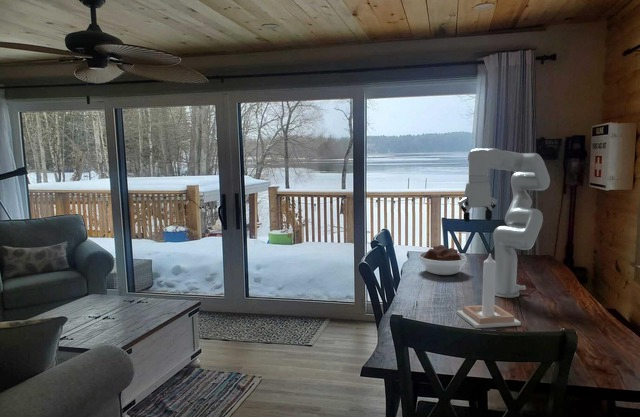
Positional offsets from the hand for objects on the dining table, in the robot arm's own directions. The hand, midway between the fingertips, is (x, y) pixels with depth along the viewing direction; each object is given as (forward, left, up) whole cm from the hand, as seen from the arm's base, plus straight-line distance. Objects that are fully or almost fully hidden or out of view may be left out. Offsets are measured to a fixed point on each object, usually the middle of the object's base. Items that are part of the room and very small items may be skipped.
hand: (477, 220), depth 188 cm
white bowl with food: (-8, -53, -37) cm, 65 cm away
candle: (+2, +15, -36) cm, 39 cm away
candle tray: (+3, +15, -37) cm, 40 cm away
